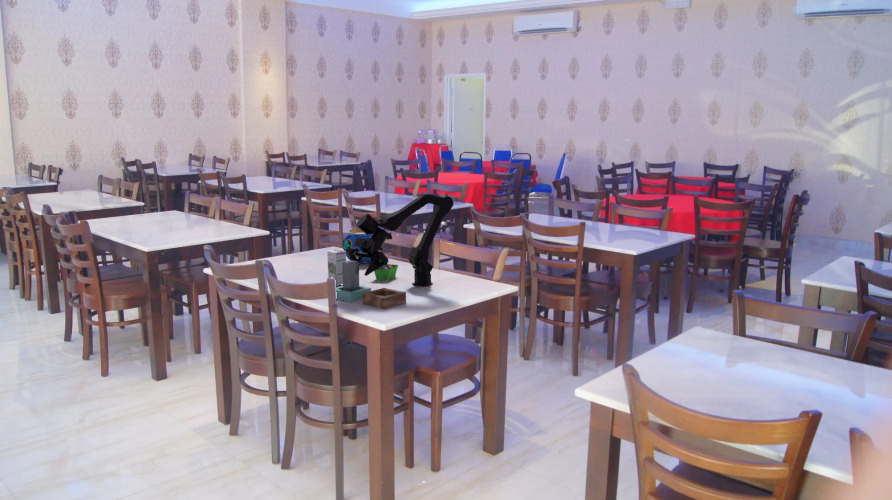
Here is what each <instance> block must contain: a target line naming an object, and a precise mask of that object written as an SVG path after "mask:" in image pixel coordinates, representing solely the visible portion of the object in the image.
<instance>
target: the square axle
mask: <svg viewBox="0 0 892 500" xmlns="http://www.w3.org/2000/svg"><path fill="white" fill-rule="evenodd" d="M342 274H343V285H342V286H343V290H344V291H349V292H352V291H356V290H359V285H360V263H359V262H357V261H352V260H346V261H345V262H342Z"/></svg>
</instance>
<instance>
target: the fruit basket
mask: <svg viewBox="0 0 892 500" xmlns="http://www.w3.org/2000/svg"><path fill="white" fill-rule="evenodd" d="M398 267H399V265H398V264H391V263H388V264H387V265H386V266H385V265H384V266H383V267H380V268H378V269H377V270H375V271H373V273H374V275H375V279H376V281H386V282H387V280H388V281H390V280H391V279H393V278H395V277H396V274H397V271H398Z"/></svg>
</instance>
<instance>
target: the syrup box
mask: <svg viewBox="0 0 892 500" xmlns="http://www.w3.org/2000/svg"><path fill="white" fill-rule="evenodd" d="M326 252H327V269H328V270H327V272H328V273H327V277H328V279H329V278H331V277H333V278H335V280H336V285H341V284H343V274H342V262H345V261H347V256H346V251H344V250H343V249H337V248H335V249H328V250H327V251H326ZM341 286H342V285H341Z"/></svg>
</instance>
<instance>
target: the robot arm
mask: <svg viewBox="0 0 892 500" xmlns="http://www.w3.org/2000/svg"><path fill="white" fill-rule="evenodd" d="M454 203H455V202H454V199H453V198H452V197H451V196H448V195H444V194H439V195H437V196H436V195H433V194H430V193H427V192H423V193H421V194H420V195H419V196H417V197H416V198H415V199H413V200H411V201H410V202H408V203H407V204H406V205H404V206H403V207H401V208H400V209H398V210H396V211H393V212H390V213H389V214H388V213H387V214H386V215H384V216H383V217H382V218H380V219H374V218H373V217H372V215H371V214H370V213H365V215H363V216H362V217H360V218H359V219H358V220H357V222H356V225H355V226H356V227H357V228H358V229H359V230H362V231H363V232H364V233H365V234H366V235H369V234H370V235H371V234H372V236H371V238H367V239H363V238H356V240H355V243H354V246H358V247H360V250H361V251H362V252H360V251H359V250H358V249H357V248H352V247H351V248H349V249H348V250H347V253H348V255H349V256H350V260H352V261H357V262H359V264H361V263H360V261H361V260H362V258H368V259H371V261H370V262H369V264H368V266H367V268H366V269H365V272H364V276H366V277H367V276H368V275H370V274H371V273H374V271H375V270H377V269H378V268H380V267H383V266H384V265H385V266H386V265H387V264H389V258H388V256H386V255H385V253H384V252H383V250H384V249H383V245H384V244H385V242H386V241H388V240H393V236H392V232H394V231H396V230H398V228H400V227H401V225H403V223H404V222H405V220H406V219H407V218H409V217H410V216H412V215H413V214H415V213H416V212H418V211H419V210H420V209H422V208H423V207H425V206H426V205H428V204H431V205H433V206H432V214H431V216H430V220H429V221H428V224H427V226H426V227H425V230H424V232H423V235H422V236H421V238H420V241H419V242H418V243H419V244H418V245H417V246H412V247H411V250H410V252H409V253H408V262H409V264H410V265H411V266H412V269H414V270H413V272H414V275H413V276H414V282H412V283H411V284H412V286H418V287H426V286H431V285H433V284H434V283H433V282H432V274H431V272H432V270H433V265H432V264H431V263H430V262H428V261H429V257H430V248H431V247H432V246H431V245H432V244H433V241H434V239H435V237H436V235H437V232H438V230H439V228H440V226H441V224H442V221H443V219H444V218H445V217H446V216H447V215H448V214H449V213H450V212H451V210H452V208H453V207H454ZM387 230H388V231H391V232H388V231H387ZM350 260H349V261H350Z"/></svg>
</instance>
